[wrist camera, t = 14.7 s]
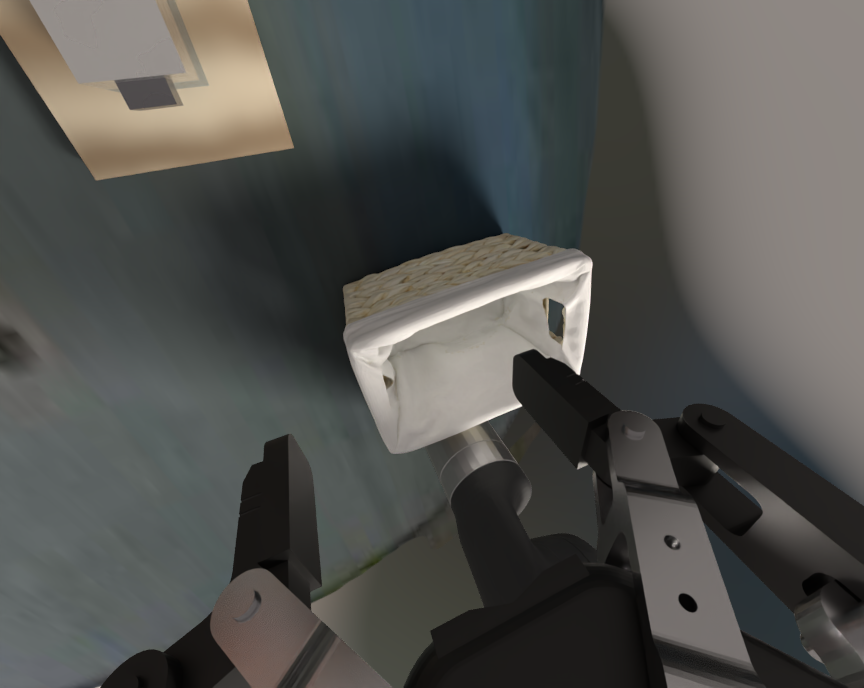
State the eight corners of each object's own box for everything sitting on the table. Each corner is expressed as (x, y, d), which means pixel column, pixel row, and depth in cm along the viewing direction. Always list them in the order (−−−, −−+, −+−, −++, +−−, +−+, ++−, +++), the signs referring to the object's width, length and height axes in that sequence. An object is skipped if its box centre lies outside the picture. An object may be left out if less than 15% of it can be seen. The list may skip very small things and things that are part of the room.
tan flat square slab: (293, 146, 29) (294, 148, 27) (113, 175, 26) (96, 180, 24) (212, -107, 21) (203, -137, 19) (-65, -109, 18) (-118, -144, 15)
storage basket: (366, 381, 46) (394, 466, 34) (322, 276, 36) (340, 346, 25) (515, 323, 50) (584, 381, 39) (511, 216, 40) (602, 251, 29)
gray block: (168, -17, 20) (125, -70, 15) (217, 106, 24) (198, 100, 18) (73, -13, 19) (-11, -68, 14) (140, 115, 23) (95, 112, 17)
